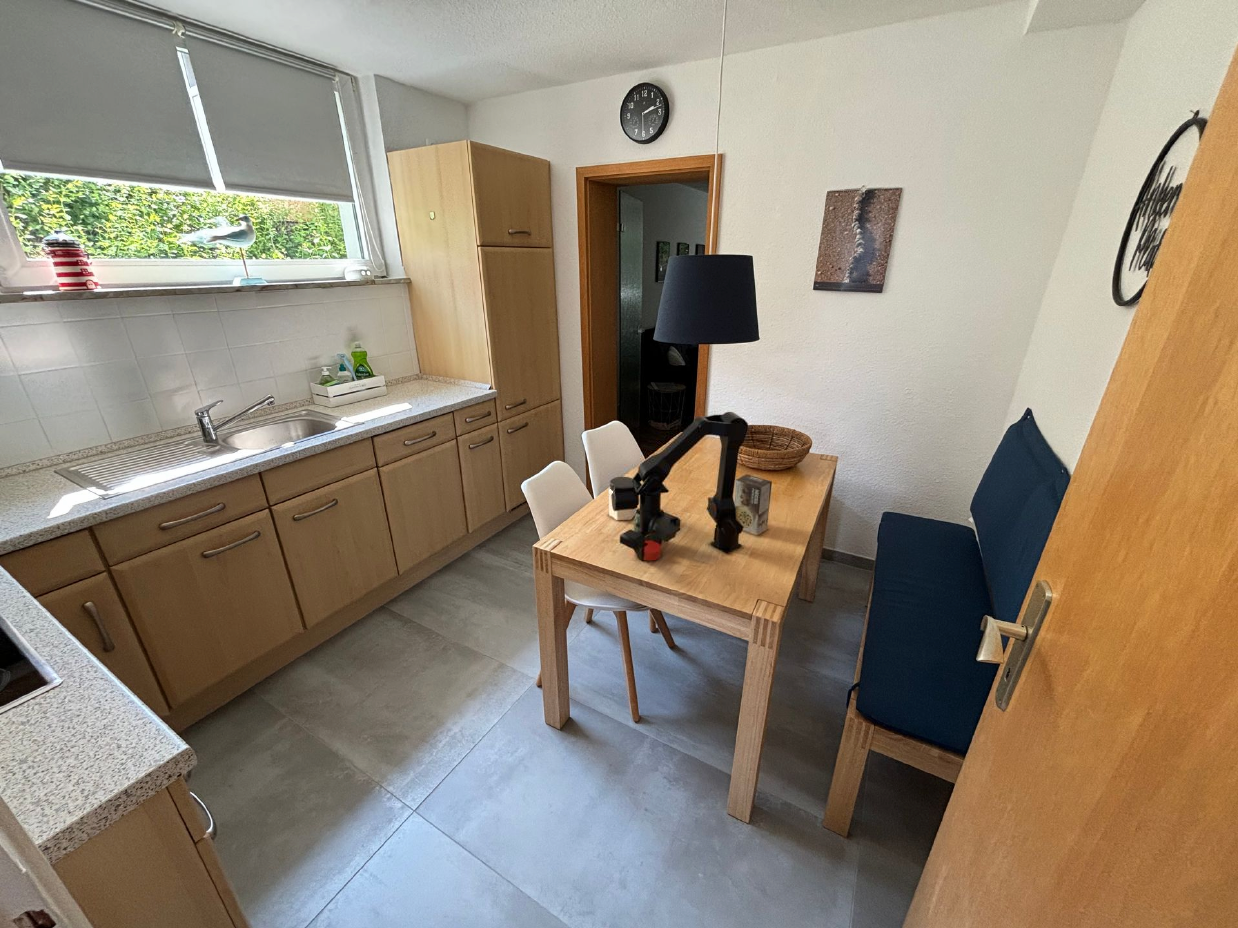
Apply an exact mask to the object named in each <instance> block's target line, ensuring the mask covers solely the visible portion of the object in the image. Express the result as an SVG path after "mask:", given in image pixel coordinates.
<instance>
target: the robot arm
mask: <svg viewBox="0 0 1238 928" xmlns="http://www.w3.org/2000/svg"><path fill="white" fill-rule="evenodd" d="M748 431H749V423H748V422H747V421H746V419H745V418H743V417H741V416H740V415H739V414H737V413H736V412H734V411H726V412H724V413H723V414H710V415H706V416H697V417H696V418H694V420H693V422H692V423H691V424H689V425H688V426H687V427H686V428H685V429H684V430H683V431H682V432H681V433H680V434H679V435H678V436H677V437H675V438H674V440H673V441H672V442H670V444H669V445H667V446H666V447H665V448H664V449H663V450H662V451H660V452H659V453H656V454H654V455H651V456H649V457H648V458H647V459H645V460H644V461H642V462H641V463H640V464H639V466H638V469H637V472H636V473H635V474H634V476H633V477H632V480H631V484H632V485H625V486H619V485H617V486H613V491H612V494H611V499H612V507H613V510H614V511H622V510H632V509H635V508H636V513H637V514H639V522H637V523H636V526H637V527H639V528H640V531H638V532H636V531H634V529H628V530H627V531H625V532H622V533H621V534H620V535H619V544H621V545H623V546H625V547H628V548H630V549H632V550H633V551H634V553H635V555H636V557H637V559H638V561H641V562H643V561H644V560H643V558H644V548H645V546H647V545H648V543H645V537H646V536H648V535H650V534H652V540H653V541H654V542H657V543H659V544H660V546H661V547H662V543H663V542H664V543H669V542H670V541H671V540H672V539H674V538H675V537H676V536H677V534H678V533H679V532H680V531H681V525H682V524H681V518H679V517H678V516H675V515H673V514H670V513H668V512H665V511H664V509H662V507H661V505H662V504H661V503H662V494H666V493H669V492H670V490H669V488H668V487H667V486H666V485H665V484H664V482H665V480H666V479H667V478H668V477H669V475H670V473H671V471H672V469H673V467H674V466H675V464H677V463H678V462H679V461H680V460H681V459H682V458H683V457H684V456H685V455H686V454H687V453H689V452H690V451H691V450H692V449H693V448H694V447H695V446H696V445H697V444H698V443H699V442H700V441H701V440H703V438H705V436H718V437H719V440H720V444H721V445H720V446H721V448H720V455H719V465H718V466H719V467H718V473H717V482H716V491H715V494H714V495H713V496H712V497H711V496H707V497H708V498H707V507H706V511H707V512H708V515H709V517H710V518H711V519H712V520H713V521H714V523H715V528H714V531H713V532H714V533H713V541H712V542H710V545H711V546H712V547H714V548H716V549H718V550H719V551H721V552H723V553H725V554H729V553H732V552H734V551H736V550H739V549H740V548H742V544H741V543H740V542H739V540H740V534H742V532H743V531H744V530H743V528H744V527H743V526H742V525H741V523H740V522H739V521H738V520H737V519H736V508H735V504H734V493H735V480H736V475H737V469H738V468H737V467H738V460H739V453H740V448H741V447H742V445H743V444H744V443H745V441H746V437H747V435H748ZM641 482H642V483H641ZM638 506H639V508H638Z"/></svg>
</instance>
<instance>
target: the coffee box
mask: <svg viewBox="0 0 1238 928" xmlns="http://www.w3.org/2000/svg"><path fill="white" fill-rule="evenodd" d="M772 485H773V481H772V480H768V479H766V478H762V477H759V476H755V475H753V474H752V475H751V474H748V473H746V474H744V475H741V476H740V477H738V478H735V484H734V495H733V500H734V504H735V508H736V519H737V520H738V521H739V522H740V523H741V525H742V526H743V527H744V528H743V530H742V531H744V532H747V533H749V534H751V535H753V536H759V535H760V534H762V533H763V532H765V531H766V530H768V521H769V514H770V505H771V503H770V502H771V496H772V495H771V494H772Z"/></svg>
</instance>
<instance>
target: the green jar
mask: <svg viewBox="0 0 1238 928" xmlns="http://www.w3.org/2000/svg"><path fill="white" fill-rule="evenodd" d="M637 522H639V514H637V513H635V516H634V517H633V531H636V532H638V531H640V528H639V527H637V526H636V523H637ZM645 541H653V540H652V534H650V535H648V536H646V537H645Z"/></svg>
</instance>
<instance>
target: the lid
mask: <svg viewBox="0 0 1238 928" xmlns="http://www.w3.org/2000/svg"><path fill="white" fill-rule="evenodd" d="M645 543H648V545H647V546H645V548H644V558H643V561H655V560H658V559H659V558H660V557H661V555H662V545H661V546H660V544H659V543H657V542H654V541H645Z"/></svg>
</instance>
